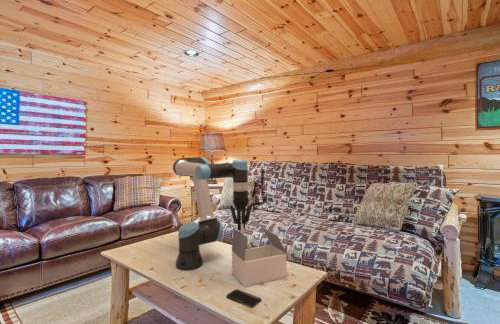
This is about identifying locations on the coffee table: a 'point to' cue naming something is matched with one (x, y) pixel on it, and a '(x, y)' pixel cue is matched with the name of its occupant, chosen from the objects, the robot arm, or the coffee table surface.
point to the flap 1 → (239, 244)
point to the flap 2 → (274, 240)
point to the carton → (259, 265)
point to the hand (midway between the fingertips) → (241, 236)
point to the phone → (243, 298)
